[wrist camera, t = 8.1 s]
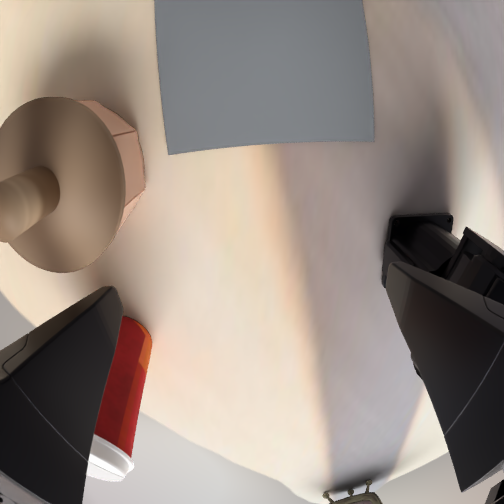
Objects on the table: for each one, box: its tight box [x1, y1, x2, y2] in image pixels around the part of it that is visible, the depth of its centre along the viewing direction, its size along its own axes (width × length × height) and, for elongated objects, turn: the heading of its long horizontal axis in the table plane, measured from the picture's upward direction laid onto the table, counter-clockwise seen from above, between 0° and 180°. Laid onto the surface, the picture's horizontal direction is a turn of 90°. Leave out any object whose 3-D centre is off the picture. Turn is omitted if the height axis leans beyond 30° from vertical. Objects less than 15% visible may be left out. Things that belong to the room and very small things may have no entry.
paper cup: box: [86, 316, 152, 481], centre depth 20 cm, size 8×8×14 cm
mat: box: [155, 0, 374, 155], centre depth 16 cm, size 14×14×1 cm
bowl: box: [77, 100, 146, 232], centre depth 17 cm, size 10×10×5 cm
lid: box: [0, 97, 126, 273], centre depth 12 cm, size 11×11×5 cm
